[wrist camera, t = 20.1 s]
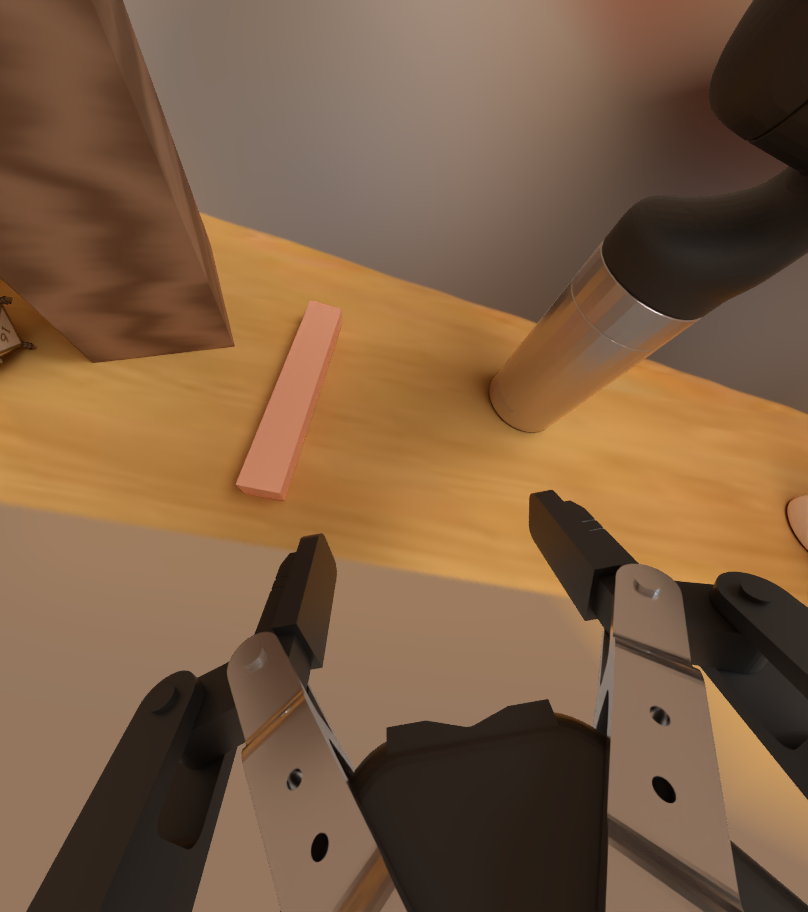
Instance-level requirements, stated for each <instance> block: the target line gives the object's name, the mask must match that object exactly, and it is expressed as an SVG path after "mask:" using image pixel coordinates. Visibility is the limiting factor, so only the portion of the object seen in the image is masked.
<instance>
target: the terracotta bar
mask: <svg viewBox="0 0 808 912" xmlns="http://www.w3.org/2000/svg"><path fill="white" fill-rule="evenodd" d="M341 314H342V309H341V308H337V307H334V306H330V305H327V304H323V303H320V302H316V301H313V300H310V302H309V305H308V307H307V310H306V312H305V314H304V317H303V319H302V322H301V324H300V327H299V329H298V332H297V334H296V337H295V339H294V342H293V344H292V346H291V349H290V351H289V354H288V356H287V359H286V361H285V364H284V366H283V369H282V371H281V374H280V376H279V379H278V381H277V383H276V386H275V388H274V391H273V393H272V396H271V398H270V401H269V403H268V406H267V408H266V411H265V413H264V416H263V418H262V420H261V423H260V425H259V428H258V430H257V433H256V435H255V438H254V440H253V443H252V445H251V448H250V450H249V452H248V455H247V457H246V460H245V462H244V465H243V467H242V470H241V472H240V475H239V477H238V480H237V482H236V486H237V487H238V488H239V489H240V490H241V491H242V492H243V493H245V494H250V495H255V496H260V497H265V498H270V499H276V500H281V501H285V499H286V495H287V492H288V489H289V486H290V483H291V480H292V477H293V474H294V471H295V468H296V465H297V461H298V458H299V455H300V452H301V449H302V446H303V443H304V440H305V437H306V434H307V431H308V427H309V424H310V421H311V418H312V415H313V412H314V409H315V406H316V403H317V400H318V397H319V393H320V390H321V387H322V384H323V381H324V378H325V375H326V372H327V369H328V366H329V363H330V359H331V356H332V353H333V350H334V347H335V344H336V341H337V338H338V335H339V332H340V329H341Z"/></svg>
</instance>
